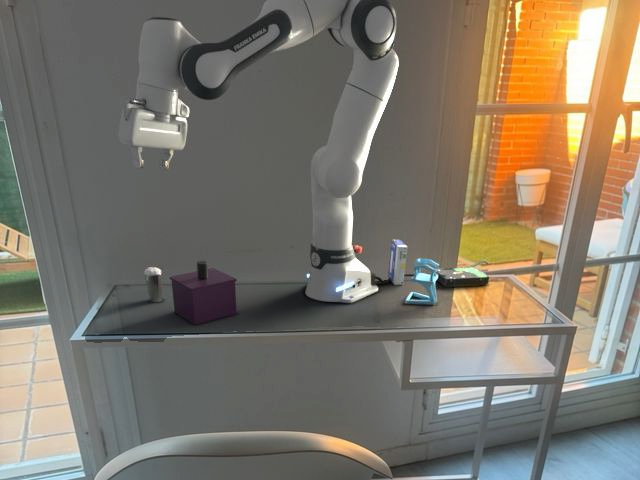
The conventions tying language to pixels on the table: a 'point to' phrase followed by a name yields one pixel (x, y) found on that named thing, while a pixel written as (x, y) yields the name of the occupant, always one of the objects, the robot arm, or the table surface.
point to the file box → (204, 302)
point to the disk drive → (461, 276)
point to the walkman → (397, 262)
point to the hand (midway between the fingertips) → (151, 168)
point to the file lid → (202, 278)
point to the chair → (424, 282)
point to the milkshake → (154, 283)
